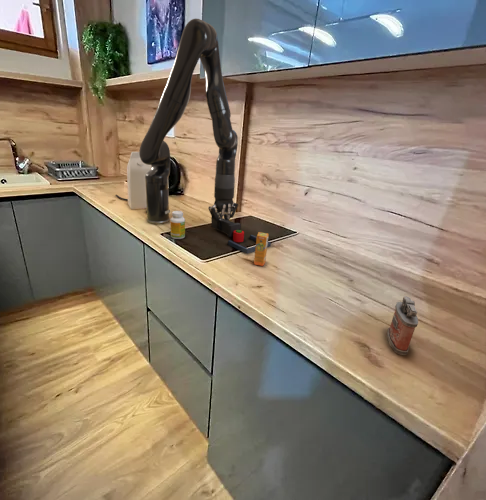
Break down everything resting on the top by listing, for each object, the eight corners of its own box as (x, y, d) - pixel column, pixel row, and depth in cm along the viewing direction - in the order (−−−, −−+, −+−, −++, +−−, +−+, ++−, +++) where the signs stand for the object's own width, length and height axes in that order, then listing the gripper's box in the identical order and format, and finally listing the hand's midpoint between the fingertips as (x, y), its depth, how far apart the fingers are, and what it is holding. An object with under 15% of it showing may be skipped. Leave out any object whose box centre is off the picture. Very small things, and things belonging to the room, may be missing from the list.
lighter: (384, 328, 68) (396, 290, 64) (401, 332, 67) (414, 293, 63) (392, 352, 61) (405, 311, 57) (410, 356, 60) (426, 314, 56)
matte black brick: (208, 227, 124) (208, 216, 122) (218, 225, 127) (218, 214, 125) (230, 237, 114) (230, 226, 112) (240, 234, 117) (240, 223, 115)
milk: (151, 201, 161) (148, 150, 151) (156, 207, 151) (153, 153, 141) (127, 203, 156) (123, 150, 146) (131, 209, 147) (127, 153, 136)
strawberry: (230, 239, 115) (231, 230, 113) (238, 237, 117) (239, 228, 116) (237, 243, 112) (238, 233, 110) (245, 241, 114) (246, 231, 113)
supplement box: (253, 264, 95) (255, 234, 91) (255, 260, 98) (258, 231, 94) (263, 266, 94) (266, 236, 90) (265, 262, 97) (269, 233, 93)
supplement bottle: (182, 240, 112) (182, 214, 109) (168, 238, 113) (168, 213, 110) (186, 235, 117) (186, 210, 113) (173, 233, 118) (173, 209, 114)
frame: (227, 244, 110) (228, 240, 110) (251, 238, 117) (251, 234, 117) (246, 253, 103) (247, 249, 103) (270, 246, 110) (271, 242, 110)
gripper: (232, 182, 121) (229, 223, 127) (203, 185, 112) (202, 229, 119) (244, 185, 115) (241, 228, 122) (216, 189, 107) (214, 235, 114)
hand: (222, 229), depth 121 cm, fingers closed on matte black brick, 2 cm apart
